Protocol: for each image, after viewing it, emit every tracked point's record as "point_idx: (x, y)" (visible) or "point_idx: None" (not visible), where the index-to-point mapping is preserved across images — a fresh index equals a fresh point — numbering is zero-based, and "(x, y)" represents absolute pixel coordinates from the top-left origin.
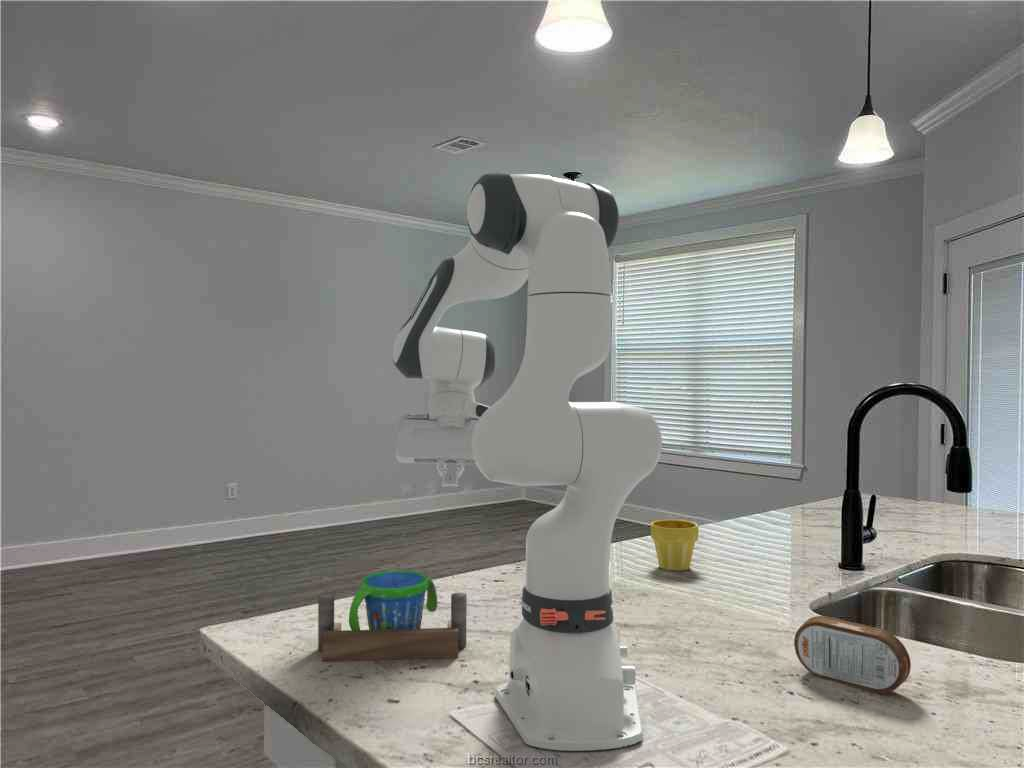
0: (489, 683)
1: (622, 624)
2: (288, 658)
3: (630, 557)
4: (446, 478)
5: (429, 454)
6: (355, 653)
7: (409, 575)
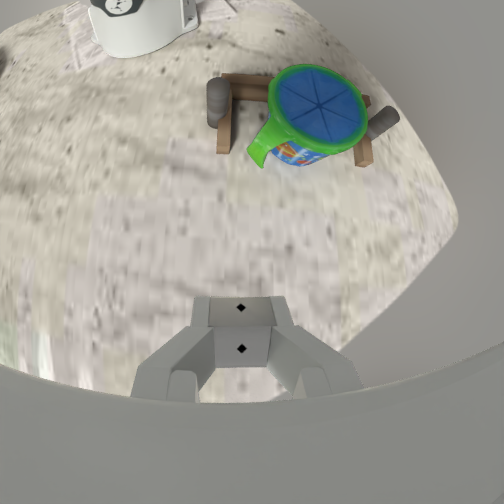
0: (197, 43)
1: (25, 191)
2: None
3: None
4: (264, 309)
5: (439, 379)
6: None
7: (302, 127)
